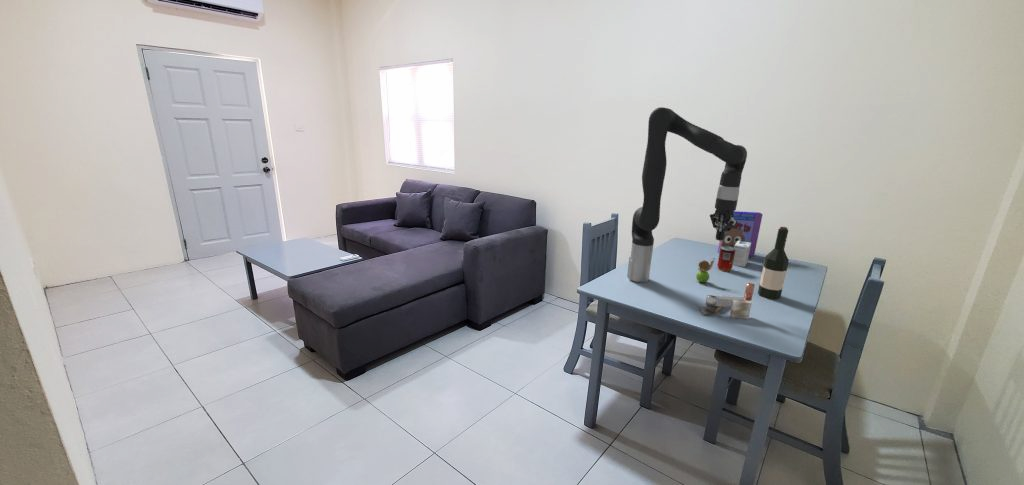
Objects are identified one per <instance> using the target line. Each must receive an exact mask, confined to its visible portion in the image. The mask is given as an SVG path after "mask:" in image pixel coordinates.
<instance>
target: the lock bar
mask: <svg viewBox="0 0 1024 485" xmlns="http://www.w3.org/2000/svg"><path fill="white" fill-rule="evenodd" d="M745 286H746V287H745V290H744V296H743V297H739V296H727V297H726V295H724V296H723V295H713V294H707V295H706V298H705V305H706V304H707V305H709V306H725V307H730V308H731V306H732V301H733V300H744V301H750V302H752V299H753V296H754V291H755V286H756V284H754V283H751V282H747V283H746V285H745Z"/></svg>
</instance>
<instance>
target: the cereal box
mask: <svg viewBox="0 0 1024 485" xmlns="http://www.w3.org/2000/svg"><path fill="white" fill-rule="evenodd" d="M733 214H734V217H733V218H734V220H735V221H737V224H736V225H735V226H734V227H733V228H732V229H731V230H730V231H726V232H725V234H724V239H723V240H722V241H719V240H718V241H719V243H718V248H717V253H718V254H719V253H720V248H721V247H723V246H730V247H733V248H734V245H735V244H736V243H737V241H743V242H750V243H751V246H750V251H749V256H748V257H753V258H754V257H755V253H756V248H757V245H758V244H757V243H758V239H759V234H760V230H761V224H762V219H763V213H762V212H755V211H739V210H737V211H736V210H735V211H734V212H733Z"/></svg>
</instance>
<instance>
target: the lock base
mask: <svg viewBox="0 0 1024 485" xmlns="http://www.w3.org/2000/svg"><path fill="white" fill-rule="evenodd" d="M722 296H726V295H722ZM726 297H728V296H726ZM752 305H753V303H752V301H744V300H733V301H732V306H731V307H730V312H729V316H730V317H731V318H732V319H750V314H751V308H752ZM725 307H726V306H709V305H707V304H706V303H705V306H698V310H699V311H700V313H701V314H702V315H703V316H704V317H705V316H707V317H721V313H720V312H719V311H720V310H722V309H723V308H725Z"/></svg>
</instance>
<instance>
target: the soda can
mask: <svg viewBox="0 0 1024 485" xmlns="http://www.w3.org/2000/svg"><path fill="white" fill-rule="evenodd" d="M718 254H719V255H718V259H717V268H718V269H717V270H719V271H722V272H731V270H732V269H733V266H734V265H733V261H734V256H735V249H734V248H733V247H730V246H723V247H721V248H720V253H718Z"/></svg>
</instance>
